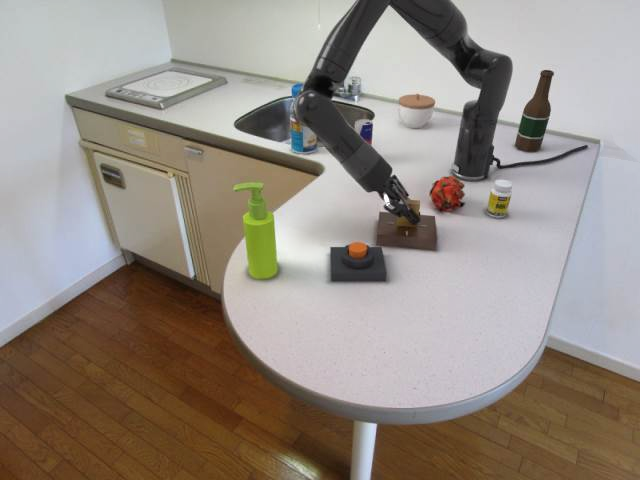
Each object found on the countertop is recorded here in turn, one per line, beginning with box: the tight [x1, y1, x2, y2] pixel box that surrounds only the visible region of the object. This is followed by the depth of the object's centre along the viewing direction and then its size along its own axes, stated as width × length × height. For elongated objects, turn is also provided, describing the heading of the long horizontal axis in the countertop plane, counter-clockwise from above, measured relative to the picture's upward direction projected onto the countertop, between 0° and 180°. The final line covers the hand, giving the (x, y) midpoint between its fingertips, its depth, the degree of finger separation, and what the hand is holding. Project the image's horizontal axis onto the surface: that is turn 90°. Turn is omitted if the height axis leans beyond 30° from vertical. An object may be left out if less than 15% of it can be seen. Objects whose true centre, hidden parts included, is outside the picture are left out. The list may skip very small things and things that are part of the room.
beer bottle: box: [514, 69, 555, 153], centre depth 140 cm, size 8×8×24 cm
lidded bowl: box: [397, 93, 436, 129], centre depth 162 cm, size 13×13×11 cm
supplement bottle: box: [485, 179, 513, 219], centre depth 111 cm, size 5×5×8 cm
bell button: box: [348, 241, 367, 258], centre depth 93 cm, size 4×4×2 cm
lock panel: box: [375, 211, 438, 252], centre depth 104 cm, size 13×10×3 cm
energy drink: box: [354, 118, 374, 147], centre depth 137 cm, size 5×5×12 cm
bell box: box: [329, 243, 387, 282], centre depth 94 cm, size 11×9×4 cm
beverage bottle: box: [289, 83, 318, 155], centre depth 141 cm, size 8×8×20 cm
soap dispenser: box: [233, 181, 279, 280], centre depth 89 cm, size 6×7×20 cm
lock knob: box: [397, 199, 421, 227], centre depth 102 cm, size 4×2×6 cm, turn 81°
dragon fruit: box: [428, 175, 466, 213], centre depth 114 cm, size 8×8×12 cm
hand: (417, 219), depth 102 cm, fingers closed, pressing on lock knob
